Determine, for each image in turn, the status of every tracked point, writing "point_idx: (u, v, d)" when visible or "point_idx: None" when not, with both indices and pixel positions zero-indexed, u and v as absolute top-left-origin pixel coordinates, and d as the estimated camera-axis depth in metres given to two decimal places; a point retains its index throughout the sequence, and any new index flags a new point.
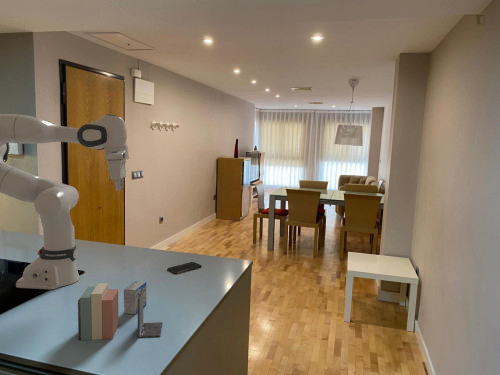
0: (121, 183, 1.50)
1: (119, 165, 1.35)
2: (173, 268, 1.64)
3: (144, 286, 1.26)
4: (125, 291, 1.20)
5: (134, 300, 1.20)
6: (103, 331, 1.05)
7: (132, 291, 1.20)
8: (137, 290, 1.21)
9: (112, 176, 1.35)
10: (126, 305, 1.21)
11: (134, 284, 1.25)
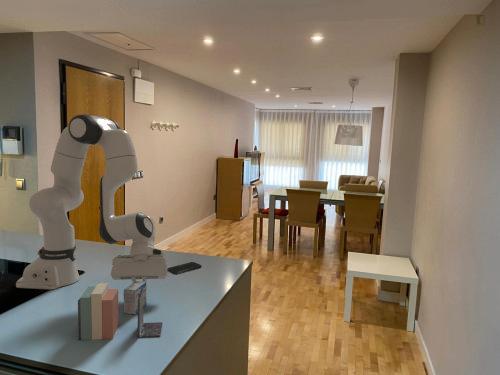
0: None
1: None
2: (173, 268, 1.64)
3: (144, 286, 1.26)
4: (125, 291, 1.20)
5: (134, 300, 1.20)
6: (103, 331, 1.05)
7: (132, 291, 1.20)
8: (137, 290, 1.21)
9: (167, 273, 1.33)
10: (126, 305, 1.21)
11: (134, 284, 1.24)
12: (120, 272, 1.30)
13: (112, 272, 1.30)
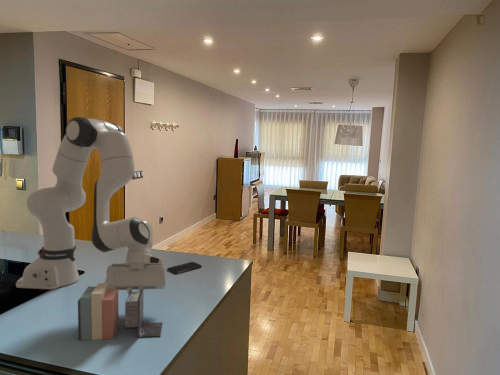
0: None
1: None
2: (173, 268, 1.64)
3: None
4: (127, 304, 1.11)
5: None
6: (103, 331, 1.05)
7: (136, 303, 1.11)
8: None
9: (165, 282, 1.24)
10: (128, 319, 1.11)
11: (132, 295, 1.15)
12: (115, 282, 1.21)
13: (106, 282, 1.20)
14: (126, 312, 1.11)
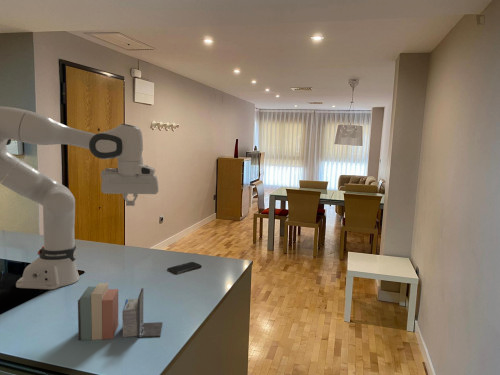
0: (127, 199, 1.33)
1: None
2: (173, 268, 1.64)
3: None
4: (124, 312, 1.06)
5: (136, 320, 1.07)
6: (103, 331, 1.05)
7: (133, 311, 1.06)
8: None
9: (157, 190, 1.34)
10: (125, 328, 1.06)
11: (129, 303, 1.10)
12: (111, 190, 1.30)
13: (102, 189, 1.30)
14: (123, 321, 1.06)
